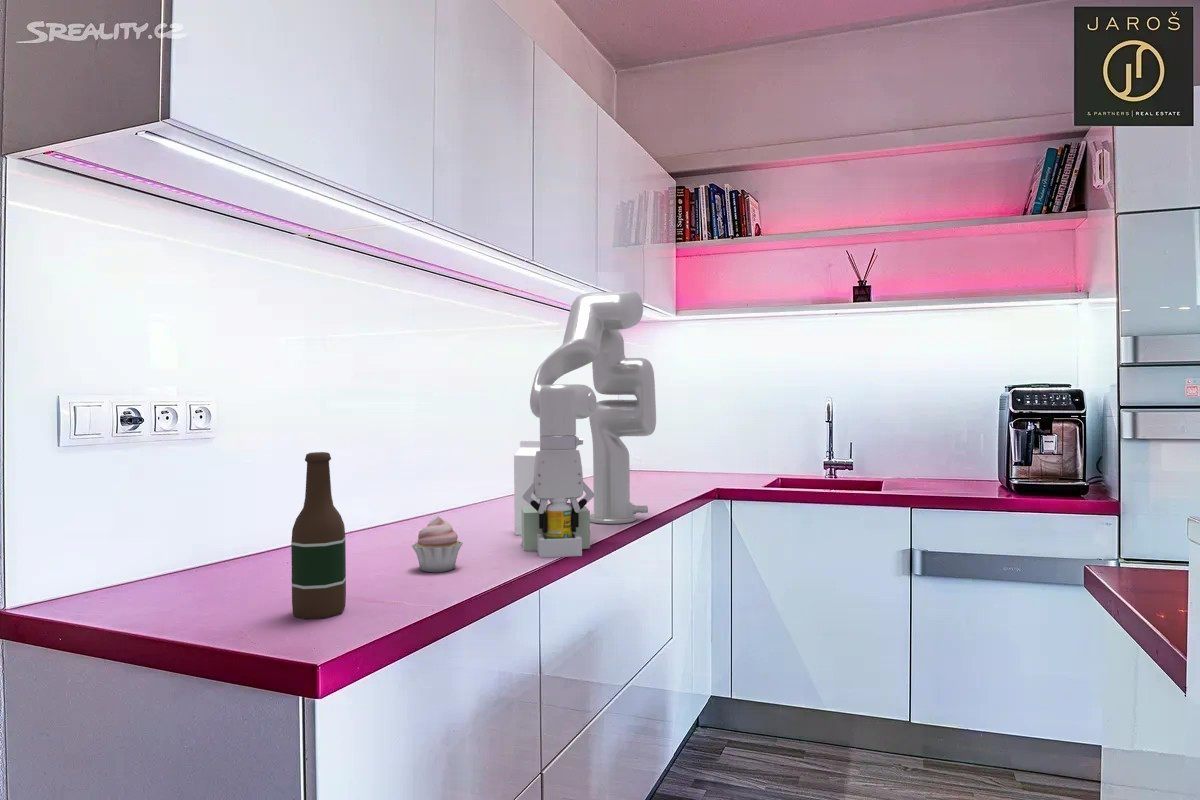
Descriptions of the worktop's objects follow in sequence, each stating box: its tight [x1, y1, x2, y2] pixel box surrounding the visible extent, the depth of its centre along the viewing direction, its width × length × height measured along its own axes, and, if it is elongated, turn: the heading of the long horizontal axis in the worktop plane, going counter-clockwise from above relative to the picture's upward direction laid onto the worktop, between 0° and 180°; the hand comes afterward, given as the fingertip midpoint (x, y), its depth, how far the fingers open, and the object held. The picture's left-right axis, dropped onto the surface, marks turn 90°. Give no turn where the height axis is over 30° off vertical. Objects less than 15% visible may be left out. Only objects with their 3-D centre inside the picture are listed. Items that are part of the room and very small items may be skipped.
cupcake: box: [411, 515, 464, 573], centre depth 143 cm, size 9×9×10 cm
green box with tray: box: [521, 502, 591, 559], centre depth 162 cm, size 14×16×9 cm
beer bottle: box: [290, 451, 347, 620], centre depth 114 cm, size 8×8×24 cm
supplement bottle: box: [546, 497, 572, 539], centre depth 158 cm, size 5×5×10 cm
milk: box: [513, 440, 549, 536], centre depth 181 cm, size 6×6×22 cm
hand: (558, 530), depth 158 cm, fingers closed on supplement bottle, 5 cm apart
